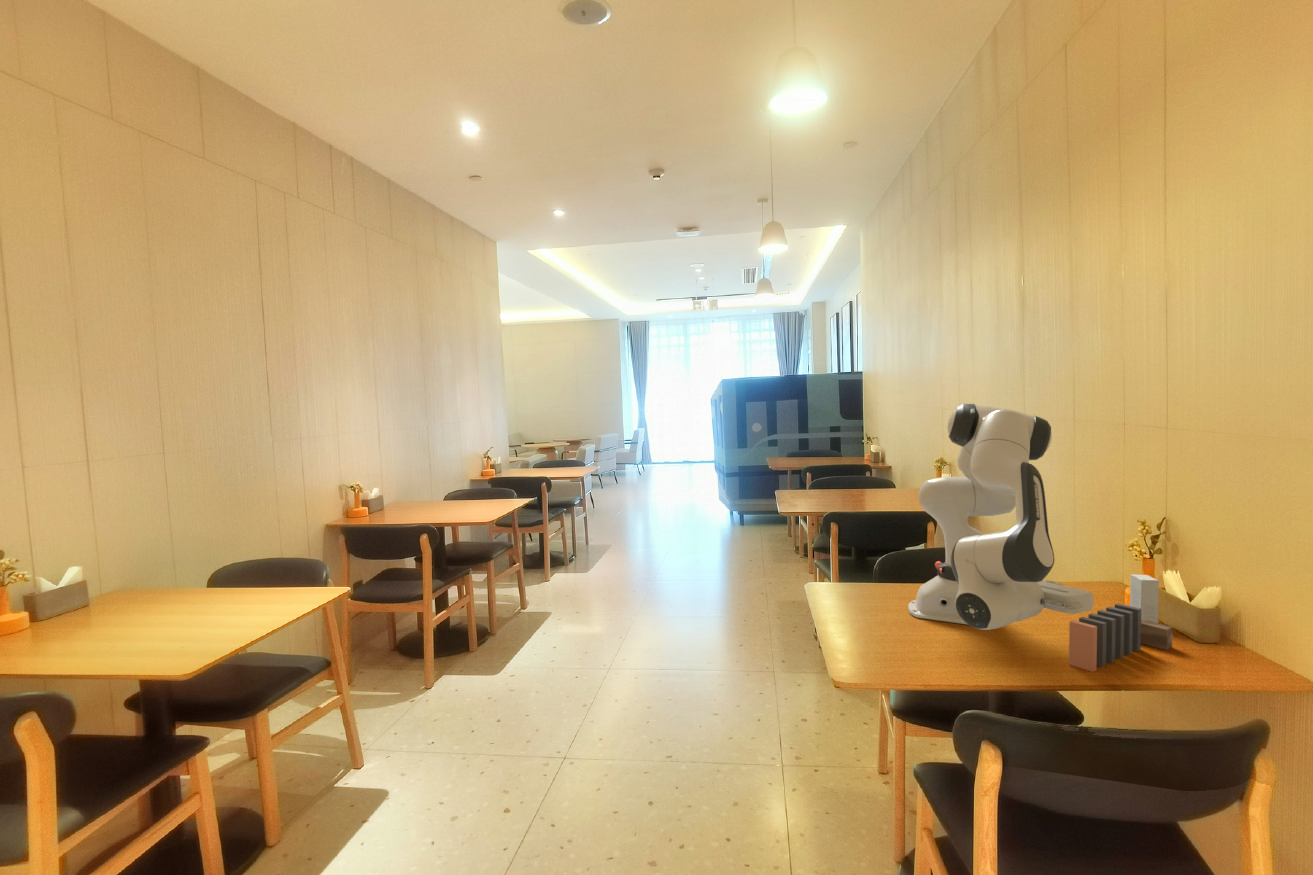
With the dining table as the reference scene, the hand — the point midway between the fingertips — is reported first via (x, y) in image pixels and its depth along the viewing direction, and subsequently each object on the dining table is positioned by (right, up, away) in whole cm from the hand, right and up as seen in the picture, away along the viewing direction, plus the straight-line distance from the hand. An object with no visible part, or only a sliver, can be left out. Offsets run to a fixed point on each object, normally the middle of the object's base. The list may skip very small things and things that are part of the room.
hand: (1055, 585), depth 140 cm
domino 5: (+25, -19, +16) cm, 36 cm away
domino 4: (+22, -20, +14) cm, 32 cm away
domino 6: (+29, -19, +19) cm, 39 cm away
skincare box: (+46, -18, +36) cm, 61 cm away
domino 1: (+11, -20, +8) cm, 24 cm away
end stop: (+35, -19, +22) cm, 45 cm away
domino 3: (+18, -20, +12) cm, 29 cm away
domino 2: (+14, -20, +10) cm, 27 cm away
